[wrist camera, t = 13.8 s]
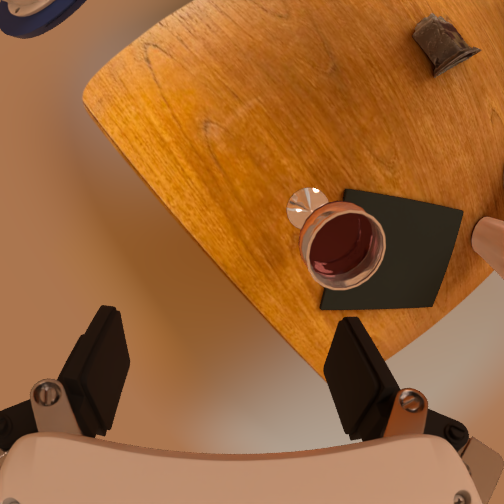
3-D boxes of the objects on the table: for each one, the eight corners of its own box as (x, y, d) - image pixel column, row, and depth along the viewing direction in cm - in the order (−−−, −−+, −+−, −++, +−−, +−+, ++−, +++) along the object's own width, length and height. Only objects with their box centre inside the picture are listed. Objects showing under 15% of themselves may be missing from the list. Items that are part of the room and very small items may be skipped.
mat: (319, 307, 38) (320, 310, 37) (344, 188, 31) (346, 189, 31) (430, 304, 40) (432, 306, 39) (461, 210, 34) (463, 211, 33)
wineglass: (272, 231, 33) (294, 284, 22) (287, 173, 30) (321, 199, 19) (326, 242, 34) (368, 295, 23) (343, 188, 31) (398, 220, 20)
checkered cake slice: (450, 13, 22) (446, -8, 15) (481, 51, 22) (489, 42, 15) (408, 42, 29) (391, 30, 22) (438, 79, 30) (431, 78, 23)
